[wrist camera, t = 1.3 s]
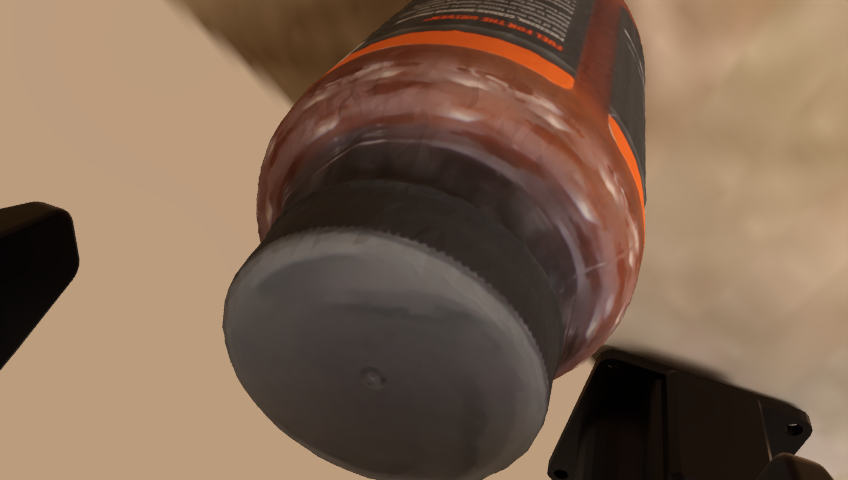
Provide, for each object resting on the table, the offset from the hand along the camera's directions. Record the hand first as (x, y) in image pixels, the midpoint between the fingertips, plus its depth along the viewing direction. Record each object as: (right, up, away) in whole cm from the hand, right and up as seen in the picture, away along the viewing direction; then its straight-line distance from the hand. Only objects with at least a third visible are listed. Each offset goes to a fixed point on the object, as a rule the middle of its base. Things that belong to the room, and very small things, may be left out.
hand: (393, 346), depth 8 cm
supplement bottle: (+3, +6, +9) cm, 11 cm away
